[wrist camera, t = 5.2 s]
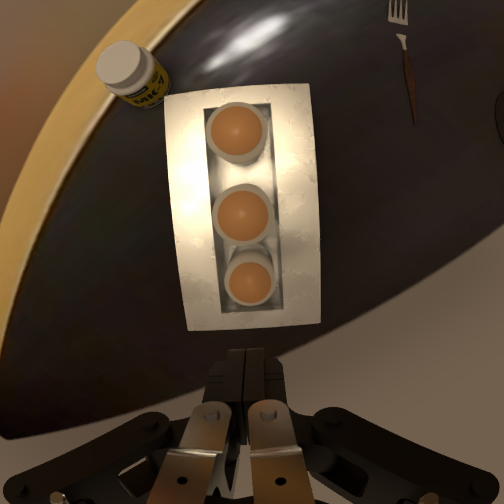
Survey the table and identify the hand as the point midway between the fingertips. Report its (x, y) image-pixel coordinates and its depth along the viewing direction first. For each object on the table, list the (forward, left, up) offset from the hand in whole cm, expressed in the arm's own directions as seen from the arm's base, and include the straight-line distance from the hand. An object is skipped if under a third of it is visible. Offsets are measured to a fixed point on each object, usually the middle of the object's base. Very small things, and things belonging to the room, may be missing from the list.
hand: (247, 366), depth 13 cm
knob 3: (0, 0, -17) cm, 17 cm away
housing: (0, -5, -19) cm, 19 cm away
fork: (-18, -21, -19) cm, 34 cm away
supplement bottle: (+9, -18, -19) cm, 28 cm away
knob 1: (0, -11, -14) cm, 18 cm away
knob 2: (0, -5, -14) cm, 15 cm away
